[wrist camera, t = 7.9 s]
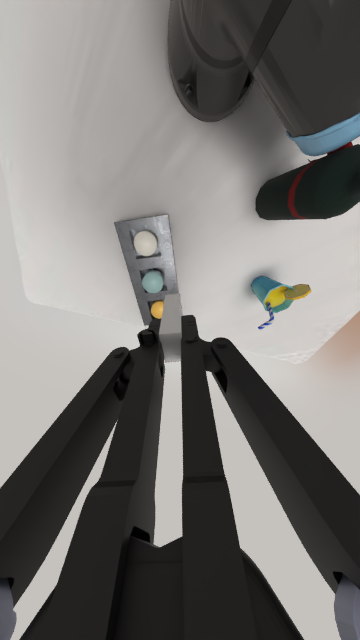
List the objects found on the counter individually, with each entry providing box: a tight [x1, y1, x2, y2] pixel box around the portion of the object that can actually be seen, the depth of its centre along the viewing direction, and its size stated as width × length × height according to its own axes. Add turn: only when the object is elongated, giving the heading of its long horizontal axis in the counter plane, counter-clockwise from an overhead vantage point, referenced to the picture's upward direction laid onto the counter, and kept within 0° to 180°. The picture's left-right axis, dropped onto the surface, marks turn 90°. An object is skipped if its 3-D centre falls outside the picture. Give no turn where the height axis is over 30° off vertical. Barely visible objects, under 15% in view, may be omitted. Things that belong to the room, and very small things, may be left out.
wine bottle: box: [256, 142, 360, 220], centre depth 23 cm, size 8×10×30 cm
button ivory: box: [134, 230, 158, 256], centre depth 38 cm, size 5×5×4 cm
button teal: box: [142, 270, 164, 293], centre depth 41 cm, size 5×5×4 cm
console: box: [114, 215, 179, 325], centre depth 44 cm, size 28×12×4 cm, turn 7°
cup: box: [251, 276, 311, 330], centre depth 41 cm, size 14×8×15 cm, turn 142°
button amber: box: [151, 299, 165, 319], centre depth 47 cm, size 5×5×4 cm
